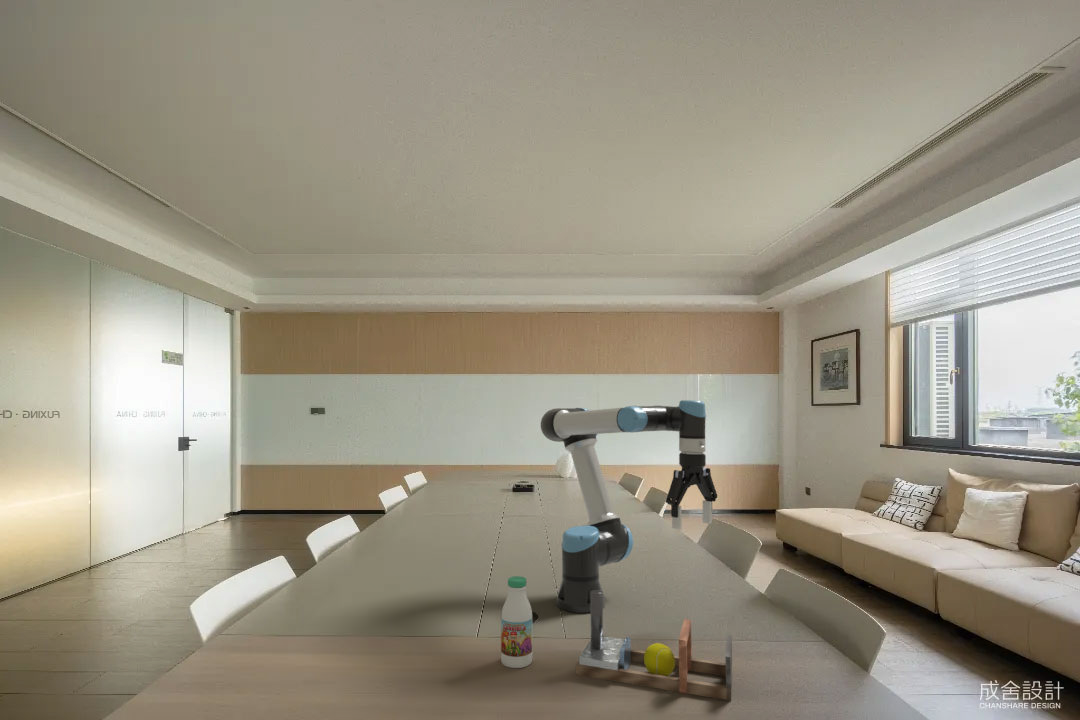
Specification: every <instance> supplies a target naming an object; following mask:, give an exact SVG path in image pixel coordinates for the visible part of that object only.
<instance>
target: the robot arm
mask: <svg viewBox="0 0 1080 720" xmlns="http://www.w3.org/2000/svg"><path fill="white" fill-rule="evenodd" d="M706 417H707V414H706V404H705V401H703V400H690V399H688V400H687V399H685V400H680V401H679V404H678V406H670V405H668V406H667V405H651V406H649V405H646V406H645V405H643V406H641V405H639V406H638V405H628V406H625V407H614V408H613V407H611V408H604V409H603V408H602V409H592V410H591V409H587V408H582V407H573V408H571V407H570V408H561V407H559V408H552V409H549V410H547V411H546V412H545V413H544V414H543V416H541V420H540V430H541V433H542V434H543V436H544V437H545V438H546V439H548V440H549V441H552V442H559V443H560V442H563V445H564V448H565V450H566V451H567V452H569V453H570V454H571V457H572V462H573V466H574V468H575V472H576V475H577V476H576V477H577V479H578V480H577V481H578V483H579V486H580V491H581V494H582V498H583V501H584V502H583V503H584V505H585V508H586V512H587V516H588V523H587V525H576V526H572V527H570V528H568V529H566V530H565V531H564V533H563V534H562V541H561V557H562V558H561V561H562V562H561V565H562V567H561V569H562V571H561V572H562V573H561V575H562V577H561V581H560V585H559V588H558V592H557V595H556V606H557V607H558V608H560V609H561V610H564V611H566V612H569V613H570V612H572V613H577V614H580V613H581V614H582V613H583V614H586V613H591V591H592V590H600V591H602V592H603V609H604V607H606V599H605V598H606V597H605V595H604V591H603V588H602V585H601V582H600V567H603V566H606V565H611V564H614V563H620V562H621V561H623V560H625V559H627V558H628V557H629V556H630V555H631V552H632V550H633V547H634V537H633V534H632V532H631V530H630V528H629V527H627V525H625V524H623V523H622V521H621V517H620V516H619V515H617V514H615V513H614V510H613V507H612V502H611V499H610V496H609V493H608V490H607V486H606V482H605V479H604V475H603V472H602V468H601V465H600V461H599V459H598V455H597V450H596V449H595V448H596V447H595V445H596V443H597V441H598V440H597V436H598V435H600V434H617V433H618V434H619V433H621V434H623V433H640V432H641V433H642V432H661V431H664V432H665V431H666V432H678V438H679V439H678V450H679V454H678V463H679V466H680V467H681V470H678V469H675V470H673V475H672V476H673V477H672V480H671V483H670V486H669V490H668V493H667V496H666V498H665V499H666V500H665V503H666V504H668V505H670V506H671V509H670V510H671V511H670V512H671V513H670V515H671V518H672V519H671V526H672V527H671V528H672V529H675V530H679V531H680V530H682V505H680V504H681V503H682V500H683V498H684V497H685V495H686V494H687V491H688V489H689V488H690V487H691V486H694V485H696V487H697V489H698V491H699V492H700V493H701V495H702V496H703V498H704V499H703V500H702V523H704V524H708V525H712V523H713V522H712V521H713V520H712V519H713V518H712V517H713V516H712V515H713V514H712V513H713V502H716V500H717V498H718V494H717V491H716V488H715V484H714V482H713V478H712V473H711V468H709V467H706V465H707V464H706V459H707V458H706V457H707V456H706V454H705V452H706Z"/></svg>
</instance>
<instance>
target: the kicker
mask: <svg viewBox="0 0 1080 720" xmlns="http://www.w3.org/2000/svg"><path fill="white" fill-rule="evenodd" d="M602 591H603V590H602ZM602 591H600V590H592V591H591V612H590V640H589V642H588V644H587V645H586V646H585V648H584V650H583V651H582V653H581V654H580V655H579V659H578V660H579V661H578V662H579V664H581V665H587V666H593V667H599V668H606V669H612V670H618V668H620V669H626V670H629V666H630V664H631V662H632V661H631V649H632V647H631V646H632V638H631V637H630V636H627V637H626V638H619V637H611V636H604V608H603V594H604V591H603V592H602Z"/></svg>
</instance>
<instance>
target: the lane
mask: <svg viewBox="0 0 1080 720" xmlns="http://www.w3.org/2000/svg"><path fill="white" fill-rule="evenodd" d="M725 643H726V645H725V655H724V656H725V657H724V658H725V659H724V660H725V662H719V661H712V660H706V659H699V658H692V657H693V656H692V654H693V651H692V647H693V646H692V644H693V642H692V620H691V619H683V622H682V627H681V630H680V634H679V637H678V655H674V658H675V667H674V669H678V677H675V676H670V675H668V676H663V675H657V674H651V673H649V672H643V671H639V670H638V671H637V670H632V669H627V670H626V669H620V667H619V668H618V670H612V669H606V668H599V667H593V666H587V665H581V664H579V661H577V662H576V663H575V674H576V676H577V675H578V676H584V677H590V678H594V679H600V680H607V681H613V682H618V683H625V684H630V685H635V686H636V685H637V686H643V687H647V688H655V689H661V690H667V691H672V692H678V693H682V694H686V695H687V694H691V695H696V696H702V697H708V698H712V699H719V700H723V701H724V700H725V701H732V691H733V689H732V687H733V652H732V651H733V648H732V647H733V646H732V645H733V644H732V634H726V642H725ZM645 651H646V650H638V649H634V648H631V662H633V663H639V664H645V663H644V654H645ZM688 672H697V673H704V674H711V675H717V676H721V677H722V676H724V677H725V684H718V683H712V682H705V681H699V680H693V679H688Z"/></svg>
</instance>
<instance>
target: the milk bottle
mask: <svg viewBox="0 0 1080 720" xmlns="http://www.w3.org/2000/svg"><path fill="white" fill-rule="evenodd" d="M507 589H508V592H507V593H508V594H507V596H506V599H505V602H504V604H503V607H502V610H501V621H500V623H501V625H500V626H501V628H500V629H501V630H500V661H501V664H502V665H503V666H504V667H506V668H510V669H521V668H522V669H523V668H525V667H528V666H530V665H531V664H532V661H533V611H532V610H533V609H532V607H531V606H532V605H531V603H530V600H529V598H528V596H527V592H526V589H527V578H526V577H525V576H520V575H519V576H518V575H516V576H515V575H514V576H510V577H508V579H507Z"/></svg>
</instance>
